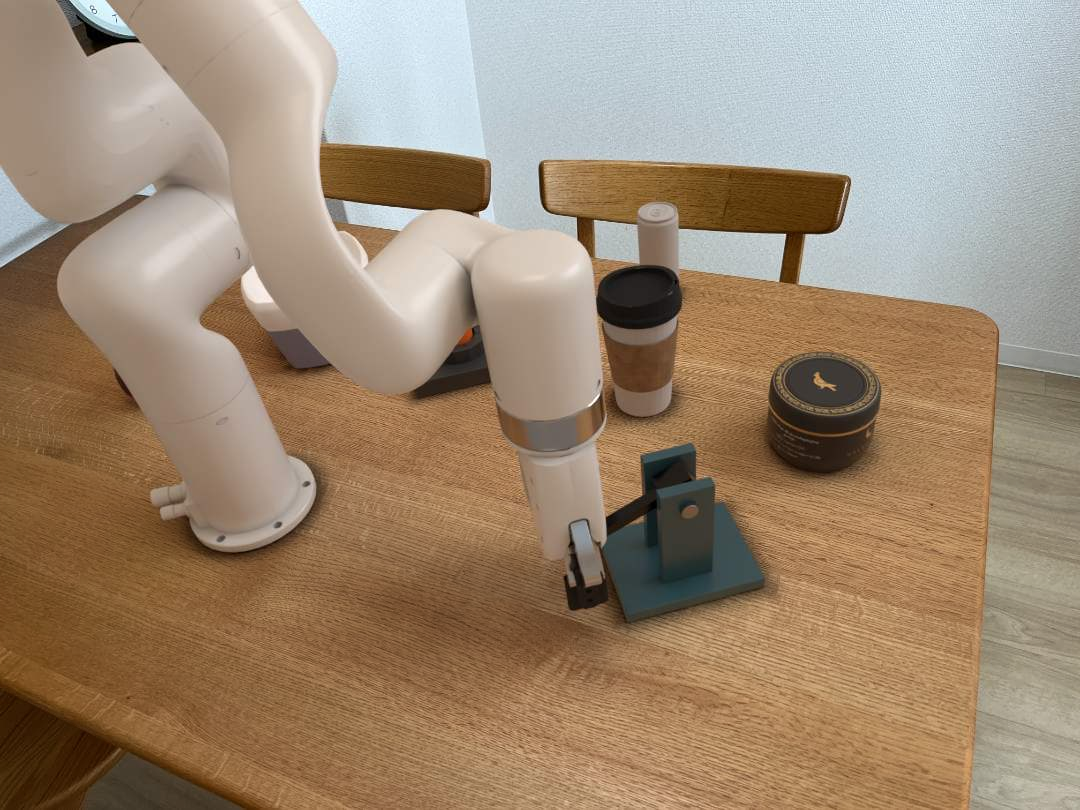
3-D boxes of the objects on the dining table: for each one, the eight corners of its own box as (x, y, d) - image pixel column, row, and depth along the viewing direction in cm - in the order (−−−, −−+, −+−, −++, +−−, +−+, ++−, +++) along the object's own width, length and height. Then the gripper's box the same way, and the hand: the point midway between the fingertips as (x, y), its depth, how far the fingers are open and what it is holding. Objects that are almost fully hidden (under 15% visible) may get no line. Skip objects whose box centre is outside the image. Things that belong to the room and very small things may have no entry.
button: (444, 349, 93) (441, 337, 92) (440, 332, 96) (437, 320, 94) (475, 342, 93) (472, 330, 92) (470, 325, 96) (467, 313, 95)
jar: (839, 493, 74) (850, 433, 70) (745, 449, 80) (748, 390, 75) (889, 432, 80) (902, 372, 75) (796, 395, 85) (803, 336, 80)
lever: (580, 581, 65) (565, 567, 64) (565, 535, 69) (551, 521, 67) (709, 506, 63) (697, 490, 61) (687, 463, 67) (675, 447, 65)
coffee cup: (680, 427, 84) (678, 307, 74) (599, 423, 86) (587, 305, 76) (685, 375, 90) (685, 258, 80) (610, 373, 92) (600, 258, 82)
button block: (418, 398, 92) (410, 371, 90) (410, 349, 100) (402, 322, 97) (520, 375, 93) (515, 347, 91) (504, 327, 101) (499, 301, 98)
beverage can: (684, 289, 103) (683, 203, 95) (672, 310, 99) (670, 223, 92) (647, 284, 104) (644, 199, 97) (635, 304, 101) (630, 218, 94)
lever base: (627, 623, 67) (619, 530, 59) (598, 541, 74) (587, 449, 66) (764, 587, 68) (774, 491, 60) (723, 510, 75) (727, 415, 67)
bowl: (377, 294, 111) (356, 221, 103) (398, 355, 99) (375, 278, 92) (265, 325, 108) (235, 252, 101) (273, 392, 97) (240, 315, 89)
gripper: (478, 346, 62) (511, 499, 74) (523, 507, 49) (555, 663, 61) (572, 324, 63) (590, 479, 74) (641, 478, 50) (650, 637, 61)
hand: (574, 561), depth 67 cm, fingers open, 8 cm apart
